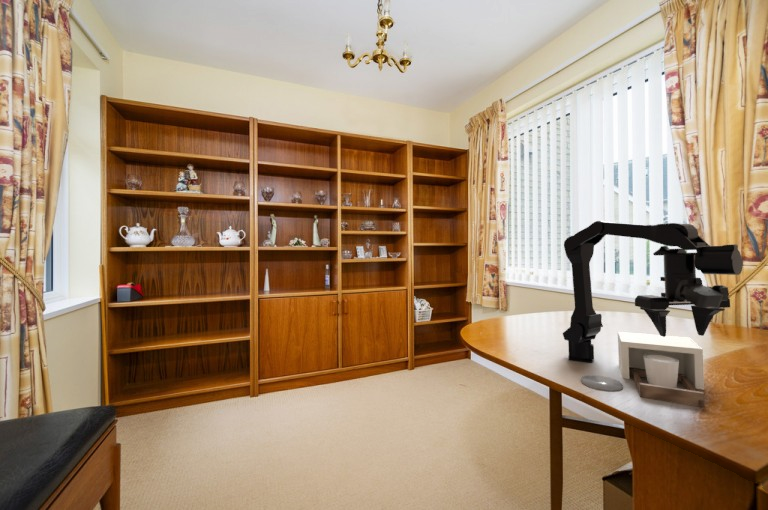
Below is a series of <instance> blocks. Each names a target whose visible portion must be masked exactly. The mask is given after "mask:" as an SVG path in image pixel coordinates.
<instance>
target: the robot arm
mask: <svg viewBox="0 0 768 510" xmlns="http://www.w3.org/2000/svg"><path fill="white" fill-rule="evenodd" d="M606 235H608V236H616V237H625V238H627V237H628V238H637V239H644V240H648V241H650V242H653V243H656V244H659V245H662V246H660V247H659V249H657V250H655V252H653V253H652V254H653V256H663V264H664V265H663V267H664V268H663V269H664V273H663V274H664V276H660V281H661V282H664V292H661V293H660V296H659V295H653V294H648V295H647V294H645V295H644V294H641V295H637V296H636V297H635V299H634V306H635V307H638V308H639V309H640V310H642V311H644V312H645V313H646V315H647V316H648V318H649V319H650V320H651V322H652V323H653V326H654V327H655V328H656V331H657V332H658V335H661V336H663V337H665V336H667V335H666V334H667V316H668V314H670V312H671V311H670V310H668V309H667V308H669V307H670V306H685V305H686V306H689V305H690V308H691V312H692V317H693V321H694V326H695V329H696V332H697V335H698V336H704V335H705V334H706V331H707V329H708V327H709V325H710V323H711V321H712V319H713V317H714V316H715V315H717V314H718V313H720V312H724V311H725V308H731V300H730V298H729V296H730V293H729V287H727V286H725V285H723V284H717V285H713V286H706V285H703V280H702V278H701V277H697V275H696V274H697V271H700V272H701V273H702V274H703V275H724V276H725V275H729V276H730V275H731V276H734V275H735V276H740V274H741V273H742V271H743V266H744V259H743V258H742V255H741V252H740V251H739V249H738V245H737V244H724V245H710V244H709V243H707V242H706V241H705V240H704V238H702V237H701V236H700V235H699V231H698V228H696V227H695V225H693V224H691V223H687V222H686V223H682V222H680V223H679V222H672V223H671V222H669V223H657V224H656V223H655V224H640V223H639V224H637V223H636V224H635V223H624V222H610V221H608V220H607V221H606V220H596V221H594V222H592V223H591V224H590V225H588V226H586V227H585V228H584V229H581V230H579V231H577V232H576V233H575V234H574V235H570V236H569V237H567V238H566V239H565V240H564V243H563V248H564V251H565V255H566V257H567V259H568V260H569V262H570V264H571V271H572V274H571V275H572V285H573V298H574V300H573V301H574V310H573V312H572V315H571V317H570V324H569V325H570V327H568V328H567V329H566V330H565V331H563V332H562V337H563V339H564V341H568V345H567V346H568V358H567V360H569V361H577V362H583V363H584V362H585V363H593V360H595V351H594V344H592V340H595V339H596V337H597V335H598V334H599V333H600V332H601V329H602V328H603V327H604V325H603V322H602V316H603V315H602V313H597V312H596V311H595V309H594V307H593V295H592V293H593V292H592V281H591V269H590V262H591V260H592V259H593V256H594V250H595V246H596V245H598V243H600V242H601V241H602V240H603V239H604V237H606ZM669 247H677V248H669ZM690 250H691V251H695V250H696V252H687V251H690ZM696 270H697V271H696Z"/></svg>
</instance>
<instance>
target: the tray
mask: <svg viewBox="0 0 768 510" xmlns="http://www.w3.org/2000/svg"><path fill="white" fill-rule="evenodd" d="M631 372H632V373H631V375H632V377H633V380H634V384H635V385H636V388H637V391H638V395H639V396H640V398H646V399H652V400H658V401H662V402H669V403H675V404H680V405H687V406H692V407H693V406H694V407H698V408H699V407H700V408H705V407H706V403H705V400H706V398H705V397H706V396H705V392H704V391H699V390H697V389H696V388H695V387H694V386H693V384H692V383H691V382H690V381H689V379H688V378H687V377H686V375H685V374H678V379H677V383H682V385H683V386H684V388H678V387H677V388H672V387H665V386H658V385H651V384H648V383H643V382H642V379H641V378H642V377H643V378H647V375H646V369H638V368H632V369H631Z"/></svg>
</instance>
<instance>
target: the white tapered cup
mask: <svg viewBox="0 0 768 510" xmlns="http://www.w3.org/2000/svg"><path fill="white" fill-rule="evenodd" d="M644 362H645V369H644V370H645V371H646V375H647V377H646V381H647V382H646V383H647V384H651V385H658V386H665V387H672V388H678V382H677V379H678V375H679V373H678V368H679V360H678V359H676V358H673V357H670V356H665V355H658V354H646V355H644Z"/></svg>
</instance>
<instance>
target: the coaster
mask: <svg viewBox="0 0 768 510" xmlns="http://www.w3.org/2000/svg"><path fill="white" fill-rule="evenodd" d="M580 382H581V383H582V384H583V385H584V386H586V387H588V388H591V389H595V390H598V391H605V392H619V391H621V390H623V388H624V387H623V383H622V382H620V381H619V380H617V379H615V378H612V377H608V376H603V375H596V374H594V375H593V374H592V375H591V374H589V375H583V376H582V377H581V378H580Z"/></svg>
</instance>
